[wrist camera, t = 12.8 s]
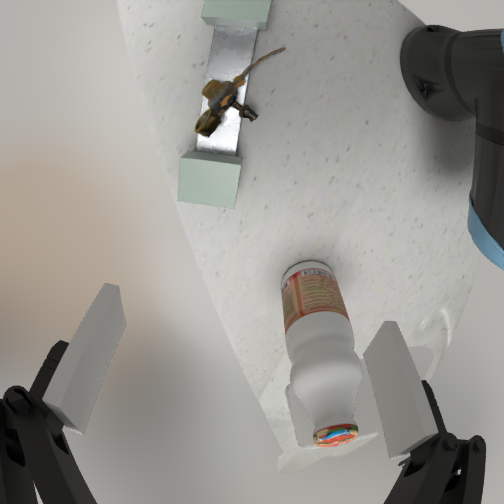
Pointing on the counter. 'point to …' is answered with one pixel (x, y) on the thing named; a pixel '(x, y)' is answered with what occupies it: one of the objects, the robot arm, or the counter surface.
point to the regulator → (225, 100)
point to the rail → (226, 69)
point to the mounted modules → (209, 164)
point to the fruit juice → (321, 351)
